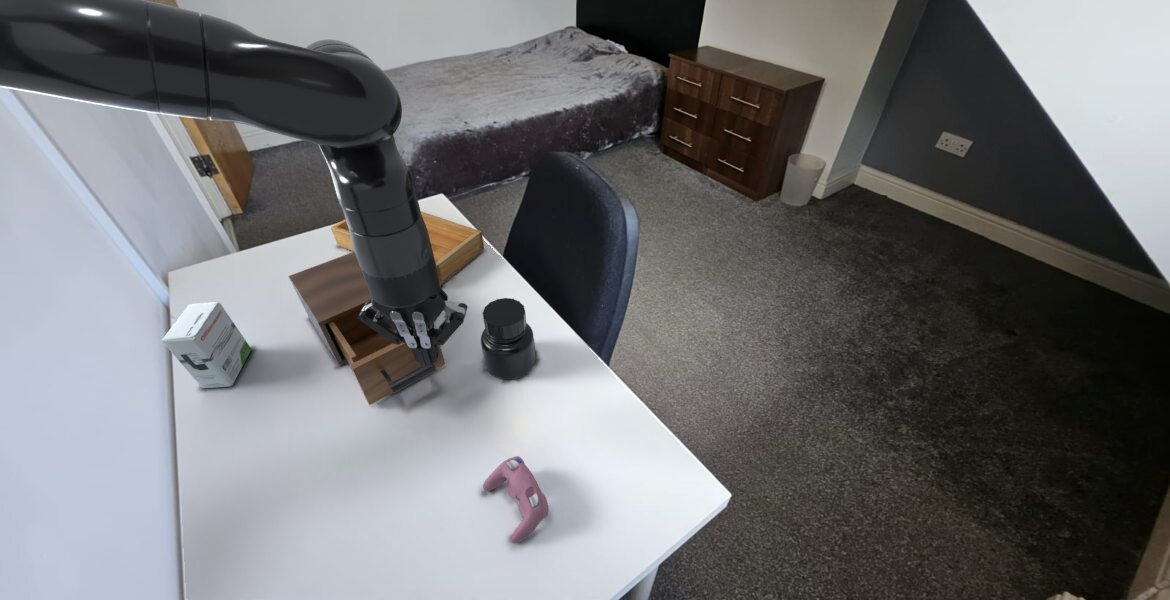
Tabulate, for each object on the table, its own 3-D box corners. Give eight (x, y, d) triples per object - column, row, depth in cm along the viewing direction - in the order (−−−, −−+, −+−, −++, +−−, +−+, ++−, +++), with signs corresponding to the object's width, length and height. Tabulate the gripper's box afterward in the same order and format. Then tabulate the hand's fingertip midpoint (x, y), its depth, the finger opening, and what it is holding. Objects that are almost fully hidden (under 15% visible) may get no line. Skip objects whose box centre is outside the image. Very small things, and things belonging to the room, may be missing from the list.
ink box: (224, 351, 84) (188, 301, 76) (253, 349, 84) (221, 299, 76) (199, 389, 77) (158, 340, 70) (231, 387, 78) (193, 337, 70)
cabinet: (417, 328, 89) (404, 285, 82) (339, 366, 82) (317, 322, 75) (383, 287, 98) (368, 246, 91) (309, 319, 90) (287, 276, 83)
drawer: (459, 380, 79) (450, 344, 73) (382, 425, 72) (365, 389, 66) (408, 319, 89) (396, 284, 84) (336, 353, 83) (318, 317, 77)
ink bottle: (543, 348, 86) (540, 299, 78) (528, 385, 79) (523, 336, 71) (493, 339, 87) (485, 289, 79) (474, 374, 81) (464, 325, 73)
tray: (338, 246, 109) (329, 225, 105) (387, 216, 119) (381, 196, 115) (440, 288, 98) (435, 267, 94) (485, 252, 108) (482, 231, 104)
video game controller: (540, 537, 62) (559, 502, 60) (511, 549, 59) (530, 513, 56) (506, 478, 68) (522, 444, 66) (478, 486, 65) (494, 451, 62)
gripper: (464, 235, 53) (484, 341, 64) (347, 233, 53) (387, 339, 64) (449, 277, 47) (473, 385, 59) (318, 274, 47) (368, 383, 59)
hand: (428, 361), depth 62 cm, fingers closed
